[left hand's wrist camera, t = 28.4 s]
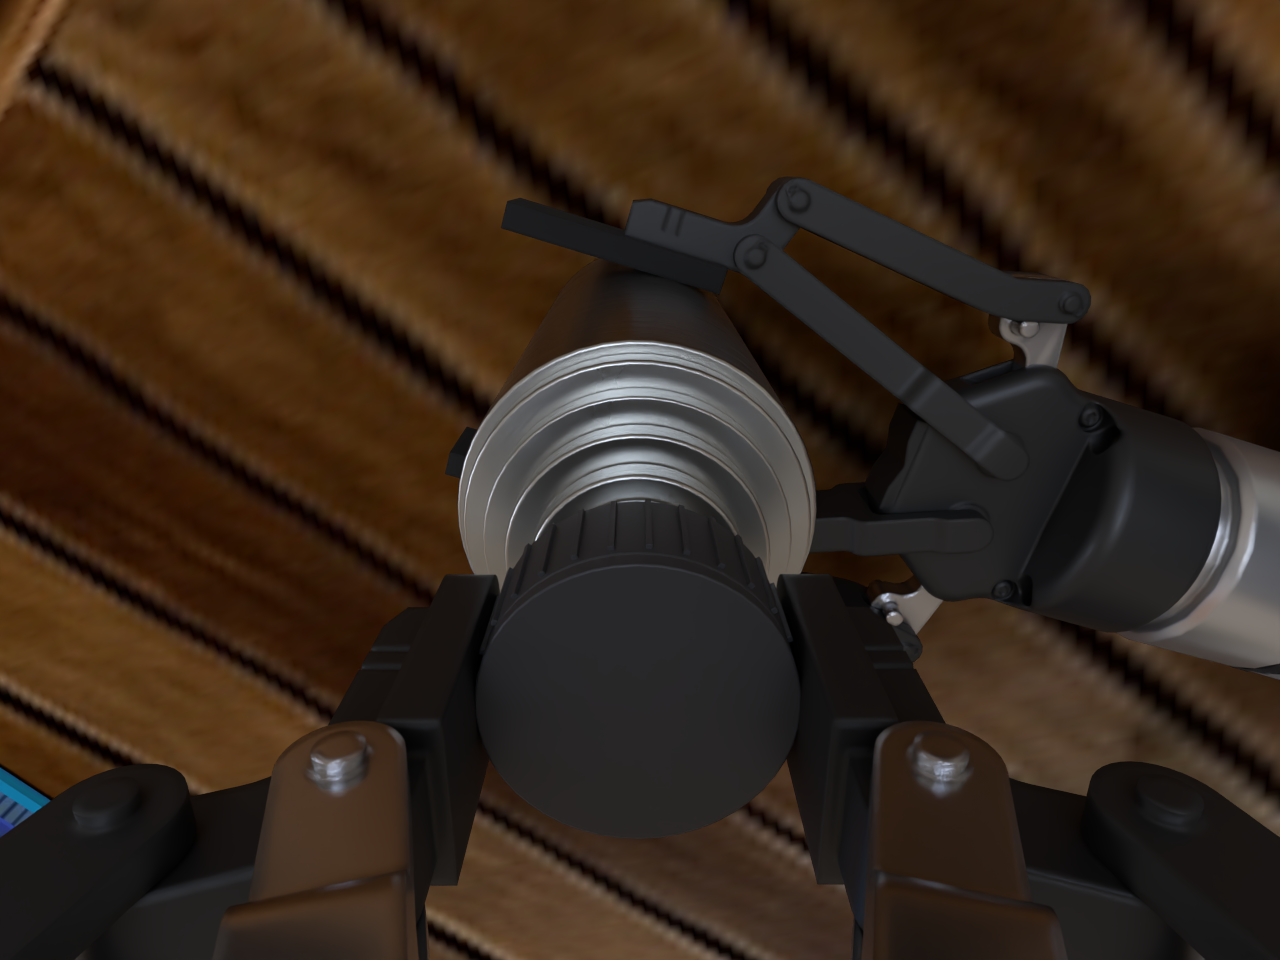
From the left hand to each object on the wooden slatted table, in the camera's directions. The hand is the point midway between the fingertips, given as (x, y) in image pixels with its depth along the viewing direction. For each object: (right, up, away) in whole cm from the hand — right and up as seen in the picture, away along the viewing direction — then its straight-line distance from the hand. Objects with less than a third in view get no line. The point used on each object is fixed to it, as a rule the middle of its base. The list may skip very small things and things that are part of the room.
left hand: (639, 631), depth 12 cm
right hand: (-5, +7, +14) cm, 16 cm away
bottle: (0, +8, +20) cm, 21 cm away
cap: (0, -1, -2) cm, 2 cm away
